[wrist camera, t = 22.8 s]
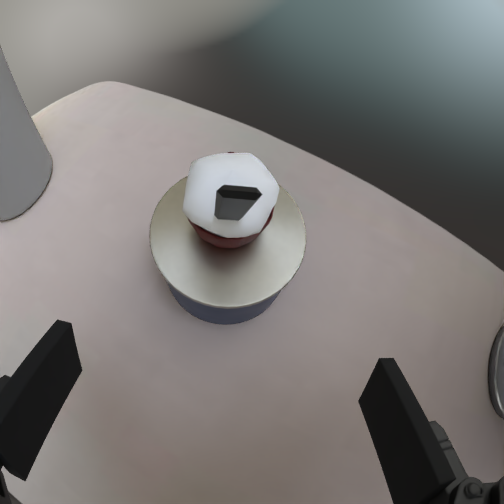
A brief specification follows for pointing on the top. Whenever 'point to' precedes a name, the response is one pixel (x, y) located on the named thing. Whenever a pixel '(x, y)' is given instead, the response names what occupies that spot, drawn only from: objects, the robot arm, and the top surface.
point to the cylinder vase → (19, 151)
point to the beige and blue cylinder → (226, 261)
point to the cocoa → (229, 198)
